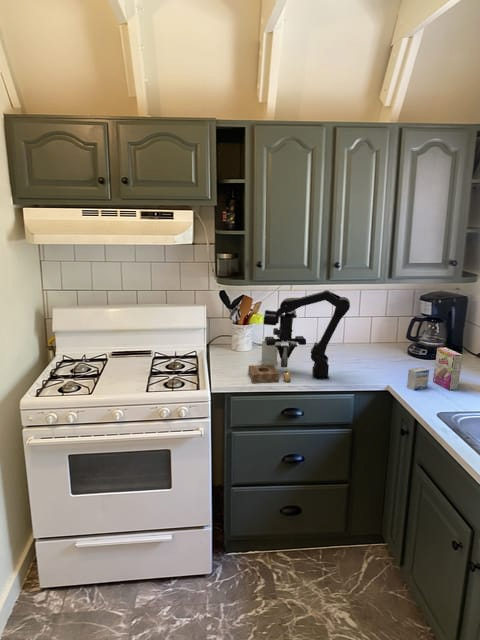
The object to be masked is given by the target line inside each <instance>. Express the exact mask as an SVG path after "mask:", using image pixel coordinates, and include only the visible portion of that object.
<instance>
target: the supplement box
mask: <svg viewBox="0 0 480 640" xmlns="http://www.w3.org/2000/svg"><path fill="white" fill-rule="evenodd" d="M265 337H266V336H265ZM265 337H263V339H262V343H261V362H260V363H261V364H260V365H274V366H275V367H276V365H277V362H278V356H279V352H278V349H277V347H275V346H274V345H273V346H268V345H266V344H265ZM274 339H279V338H278V337H274Z"/></svg>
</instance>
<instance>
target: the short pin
mask: <svg viewBox="0 0 480 640" xmlns="http://www.w3.org/2000/svg"><path fill="white" fill-rule="evenodd" d="M291 378H292V372H291V371H284V372H283V382H284V383H291V382H292V381H291Z"/></svg>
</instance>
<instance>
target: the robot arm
mask: <svg viewBox="0 0 480 640" xmlns="http://www.w3.org/2000/svg"><path fill="white" fill-rule="evenodd" d="M325 301H326V302H328V303H329V304H331V305H332V306H333V307H335V308H334V312H333V314H332V316H331V319H330V321H329V322H328V325H327V327H326V328H325V330H324V332H323V335H322V336H321V338H320V340H319V341H318V342H316V341H315V342H314V344H313V347H312V348H311V349H310V354H311V355H310V359H311V361H312V362H314V363H313V366H312V369H311V370H312V372H311V375H312V376H313V378H314V379H315V380H324V379H325V380H326V379H327V380H329V379H330V377H329V369H330V368H329V366H330V364H328V362H329V357H328V356H327V354H326V349H327V347H328V345H329V342H330V341H331V339H332V337H333V335H334V332H335V331H336V329H337V327H338V325H339V324H340V321H341V319H342V318H344V317H345V315H346V314H347V313H348V312H349V310H350V307H351V302H350V300H349V298H347V297H345V296H340V295H338V294H336V293H334V292H333V291H330V290H327V289H326V290H323V291H319V292H317V293H312V294H309V295H306V296H302V297H289V298H285V299H283V300H282V301H281V302H280V304H279V305H280V306H279V308H277V310H268V309H265V310H264V316H263V325H264V326H265V325H266V326H277V325H278V324H279V327H274V328H273V329H272V330H273V331H272V334H273V335H274V336H276V338H278V339H274V338H275V337H274V336H265V344H266V345H268V346H273V345H274V346H275V347H277V349H278V357H279V359H281V358H282V343H283V344H284V343H285V344H288V359H289V358H290V357H291V356H292V354H293V351H294V350H295V348H297V347H298V344H299V346H306V345H307V339H306V338H305V337H304V336H303V335H297V336H296V335H295V337H294V338H292V336H293V334H292V333H293V318H294V319H296V318H297V316H298V315H297V313H295V310H297V309H299V308H301V307H304V306H309V305H312V304H313V305H314V304H317V303H320V302H325ZM297 343H298V344H297Z"/></svg>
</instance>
